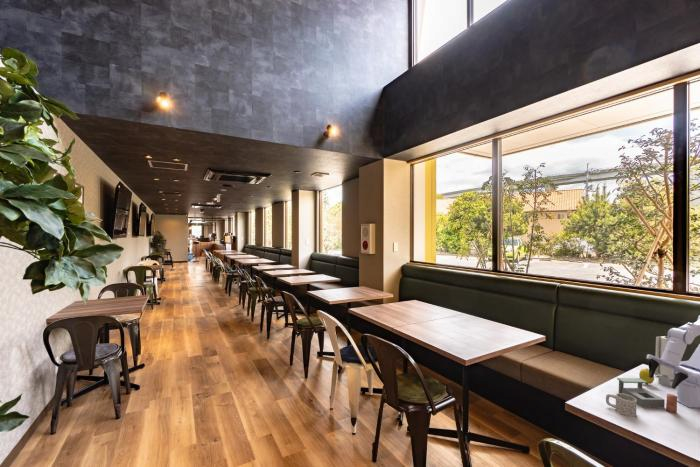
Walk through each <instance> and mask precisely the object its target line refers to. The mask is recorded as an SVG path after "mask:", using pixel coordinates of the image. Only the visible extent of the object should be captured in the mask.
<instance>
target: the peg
mask: <svg viewBox="0 0 700 467" xmlns="http://www.w3.org/2000/svg"><path fill="white" fill-rule="evenodd" d="M665 411H666V412H668V413H669V414H674V415H676V414H677V413H678V401H677V394H673V393H666V406H665Z"/></svg>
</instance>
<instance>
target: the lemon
mask: <svg viewBox="0 0 700 467" xmlns="http://www.w3.org/2000/svg"><path fill="white" fill-rule="evenodd" d="M638 376H639V378H640V379H642V380H644V381H646V382H647V383H644V384H645V385H649V384H653V383H654V381H655V375H654V376H653V378H650V377H649V368H642V369H641V370H640V371H639V373H638Z"/></svg>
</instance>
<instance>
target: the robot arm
mask: <svg viewBox="0 0 700 467" xmlns="http://www.w3.org/2000/svg"><path fill="white" fill-rule="evenodd" d="M699 336H700V315H698V317H697V320H696V321H695V322H687V323H685V324H683V325H681V326H678V327H671V328H670V329H669V330H668V331H667V336H666V337H667V345H666V347H665V350H664V352H663V355H662V357H661V359H660V358H658V357H655V355H653V354H650V353H649V354H646V359H647V365H648V370H649V377H650V378H653V376H654V377H655V374H654V373H655V371H656V369H657V367H658V365H659V364H661V365H663V366H665V367H668V368H670V369H672V374H673V376H674V380H672V383H671V384H670V388H671V389H673V390H675V389H677V391H676V396H677V403H678V402H679V403H680V404H682V405H684V406H686V407H687V408H700V343H699V344H698V346H697V347H696V348H695V350H694V352H693V353H692V355H691V356H690V358H688V360H682V359H683V355H684V354H685V351H686V349H687V345H691V344H692V343H693V341H694V340H695V338H696V337H699Z"/></svg>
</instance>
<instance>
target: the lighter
mask: <svg viewBox="0 0 700 467" xmlns="http://www.w3.org/2000/svg"><path fill="white" fill-rule="evenodd" d="M654 376H658V384H659V385H661V386H666V387H669V388H671V380H670V377H668V375H666V374H662V375H660V374H659V373H658V371H657V370H656V371H655V373H654Z"/></svg>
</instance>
